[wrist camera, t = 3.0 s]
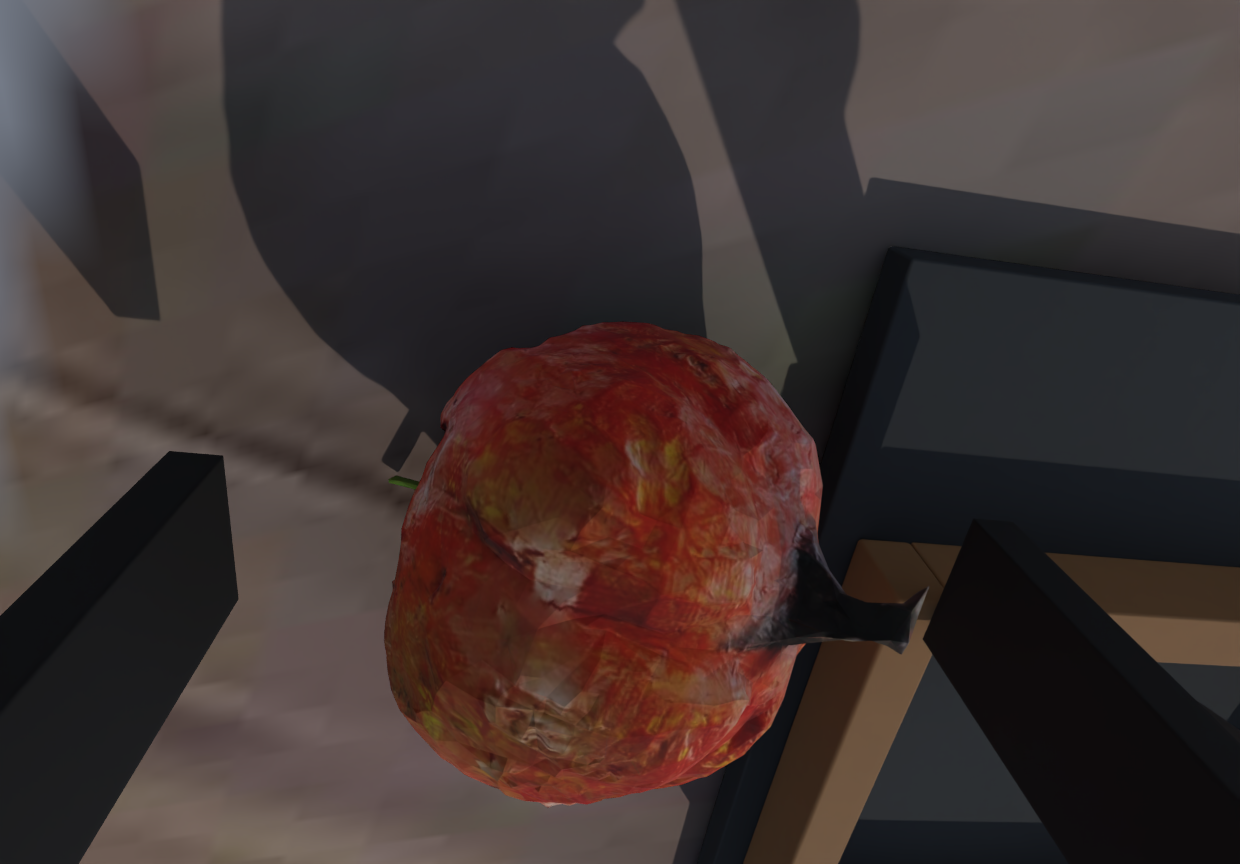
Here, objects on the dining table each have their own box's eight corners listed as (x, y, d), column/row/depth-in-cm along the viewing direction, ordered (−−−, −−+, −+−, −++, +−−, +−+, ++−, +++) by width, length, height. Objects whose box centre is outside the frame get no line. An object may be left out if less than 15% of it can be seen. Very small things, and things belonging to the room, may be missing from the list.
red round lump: (503, 561, 19) (903, 732, 14) (226, 728, 13) (762, 1131, 8) (509, 268, 16) (1005, 354, 11) (167, 305, 10) (907, 523, 5)
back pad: (888, 244, 13) (972, 289, 11) (1573, 340, 16) (1783, 397, 13) (662, 969, 24) (677, 1082, 21) (1093, 963, 26) (1154, 1065, 24)
